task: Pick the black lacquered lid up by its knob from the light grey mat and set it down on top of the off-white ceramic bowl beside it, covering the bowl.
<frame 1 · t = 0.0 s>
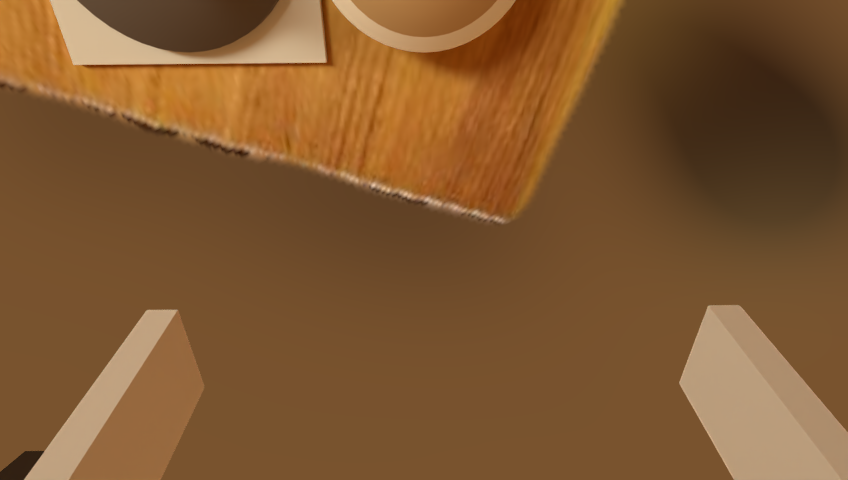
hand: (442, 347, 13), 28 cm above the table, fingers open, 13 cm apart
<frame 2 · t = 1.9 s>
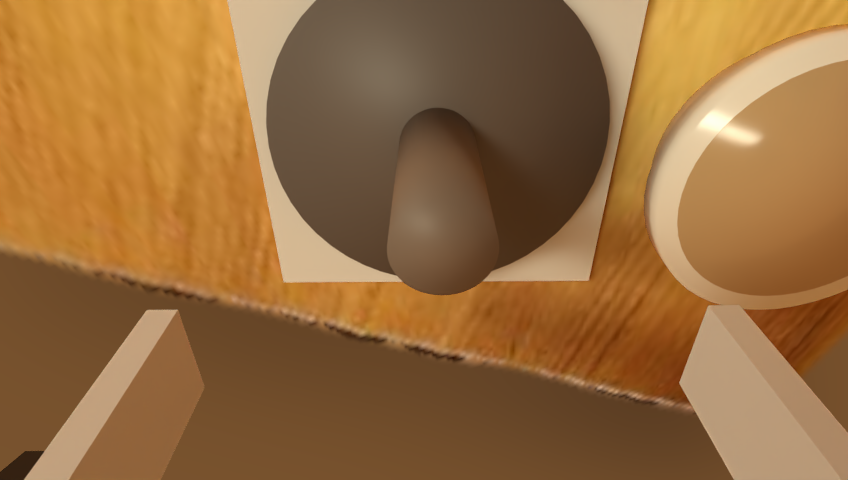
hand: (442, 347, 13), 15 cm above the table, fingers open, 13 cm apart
bowl: (749, 148, 26), on the table
mat: (436, 131, 25), on the table
lid: (436, 135, 25), point 1 cm above the table, touching mat
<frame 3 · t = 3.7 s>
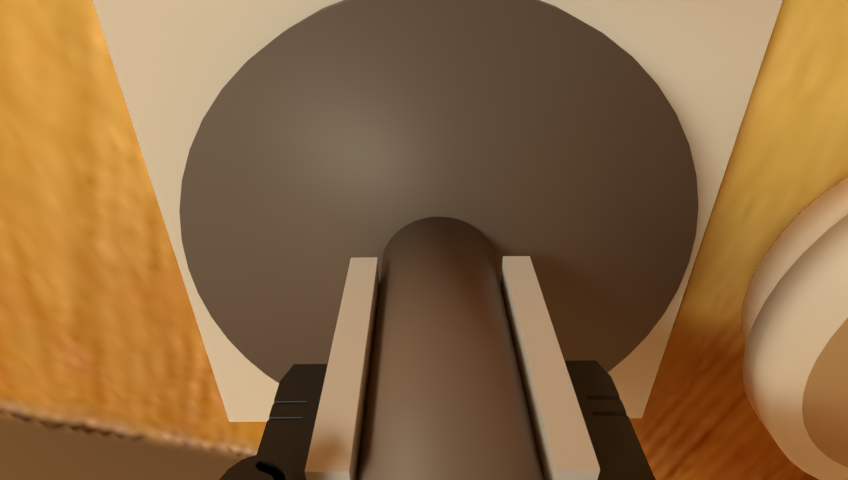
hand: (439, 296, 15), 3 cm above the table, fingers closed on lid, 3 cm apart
mat: (436, 236, 17), on the table
lid: (437, 245, 17), point 1 cm above the table, touching gripper
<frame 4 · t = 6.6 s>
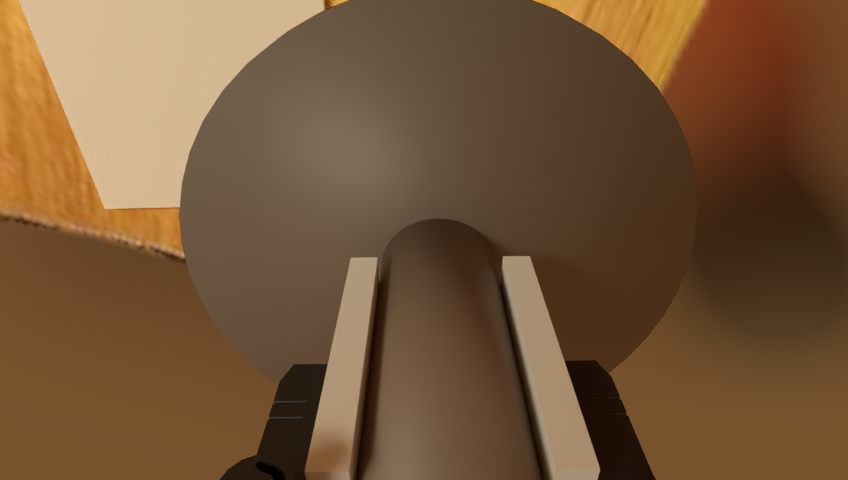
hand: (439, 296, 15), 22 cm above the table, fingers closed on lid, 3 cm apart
mat: (196, 80, 33), on the table
lid: (437, 247, 17), point 19 cm above the table, touching gripper
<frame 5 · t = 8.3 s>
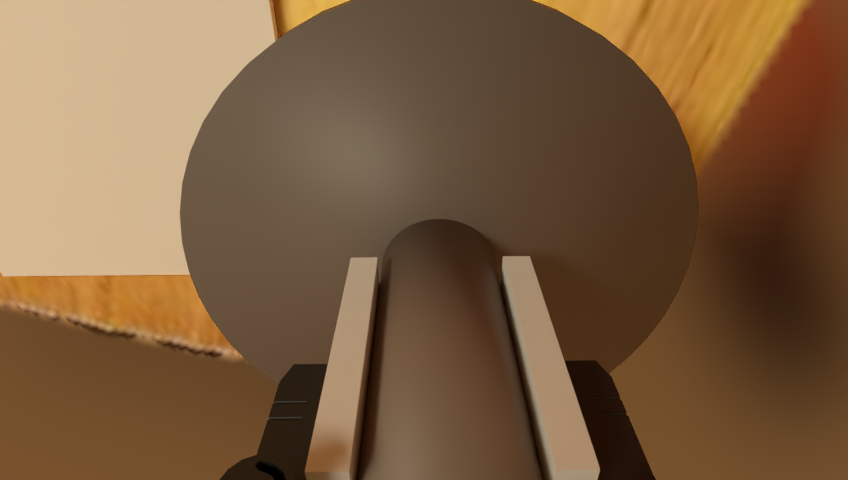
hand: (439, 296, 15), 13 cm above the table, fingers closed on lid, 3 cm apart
mat: (109, 120, 25), on the table
lid: (437, 247, 17), point 10 cm above the table, touching gripper
when the fingers open (9 cm above the table, at t = 9.6 s): lid drops 2 cm, resting on bowl.
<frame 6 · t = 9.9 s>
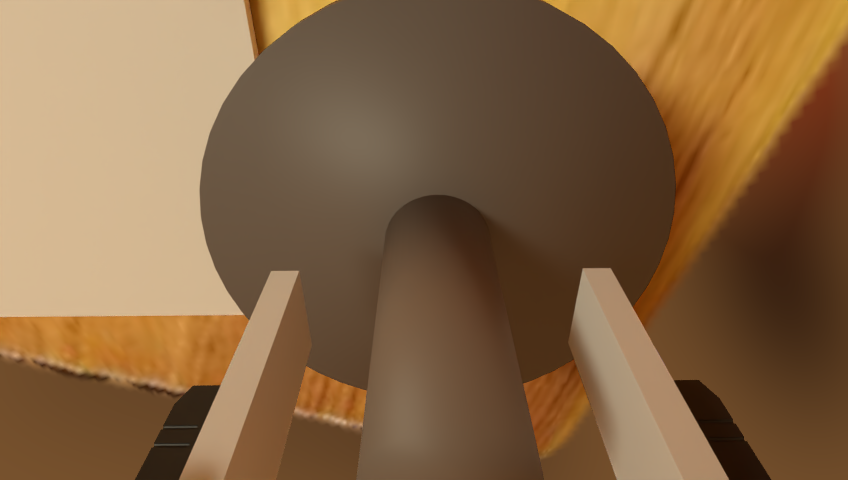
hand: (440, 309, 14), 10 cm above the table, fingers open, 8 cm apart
mat: (71, 150, 22), on the table
lid: (436, 223, 18), point 5 cm above the table, touching bowl
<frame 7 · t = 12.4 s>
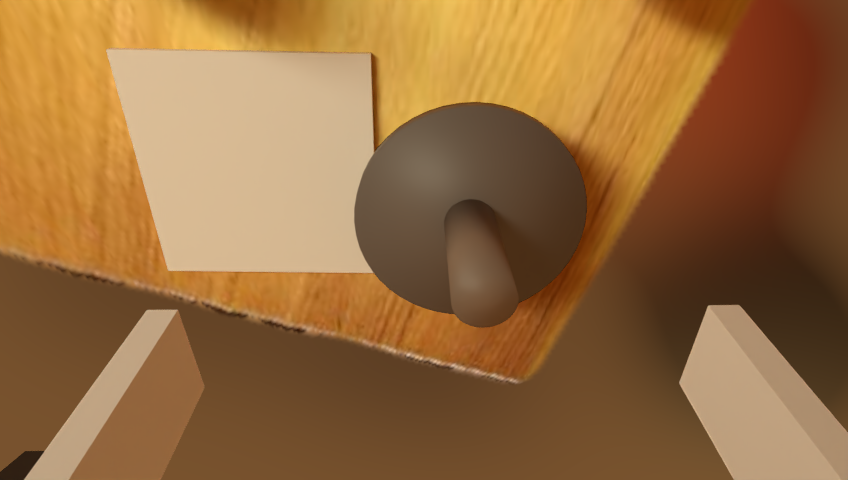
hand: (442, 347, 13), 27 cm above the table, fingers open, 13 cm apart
mat: (260, 171, 39), on the table
lid: (468, 214, 36), point 5 cm above the table, touching bowl
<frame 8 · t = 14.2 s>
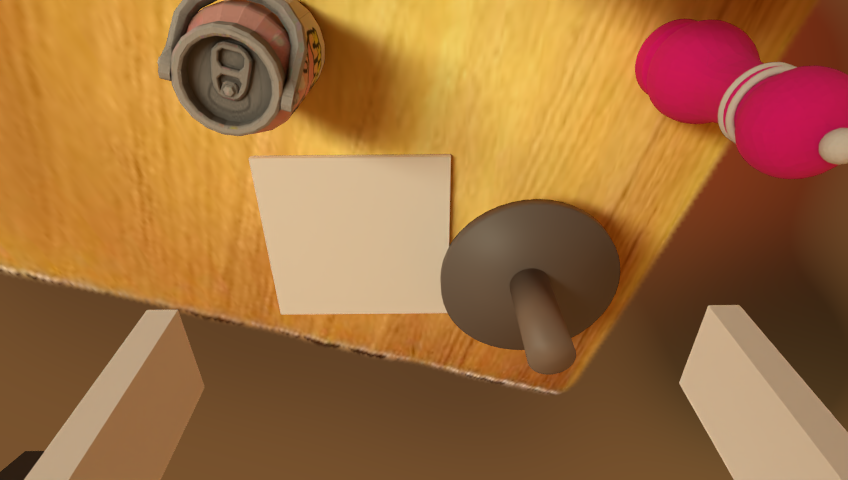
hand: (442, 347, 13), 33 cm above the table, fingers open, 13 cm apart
pepper mill: (672, 59, 41), on the table
beverage can: (277, 36, 40), on the table
mat: (358, 240, 50), on the table
lid: (527, 276, 46), point 5 cm above the table, touching bowl
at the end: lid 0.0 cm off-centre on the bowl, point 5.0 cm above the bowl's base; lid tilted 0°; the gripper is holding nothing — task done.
